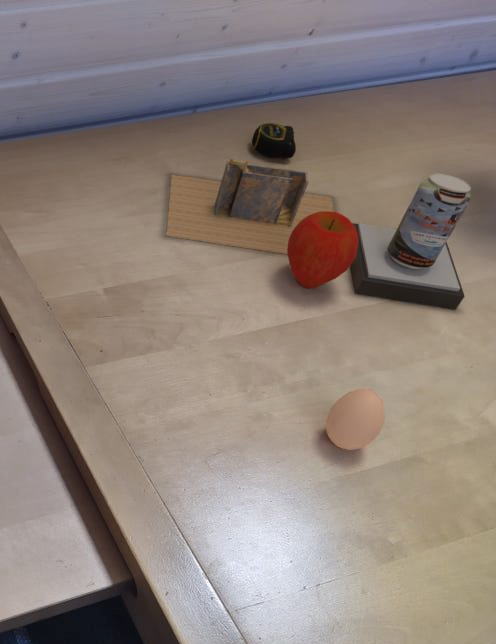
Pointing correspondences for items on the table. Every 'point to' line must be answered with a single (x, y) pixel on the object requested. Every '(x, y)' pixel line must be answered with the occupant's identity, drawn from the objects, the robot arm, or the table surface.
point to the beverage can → (429, 220)
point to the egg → (355, 419)
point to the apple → (321, 248)
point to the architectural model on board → (243, 206)
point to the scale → (402, 272)
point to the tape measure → (274, 141)
